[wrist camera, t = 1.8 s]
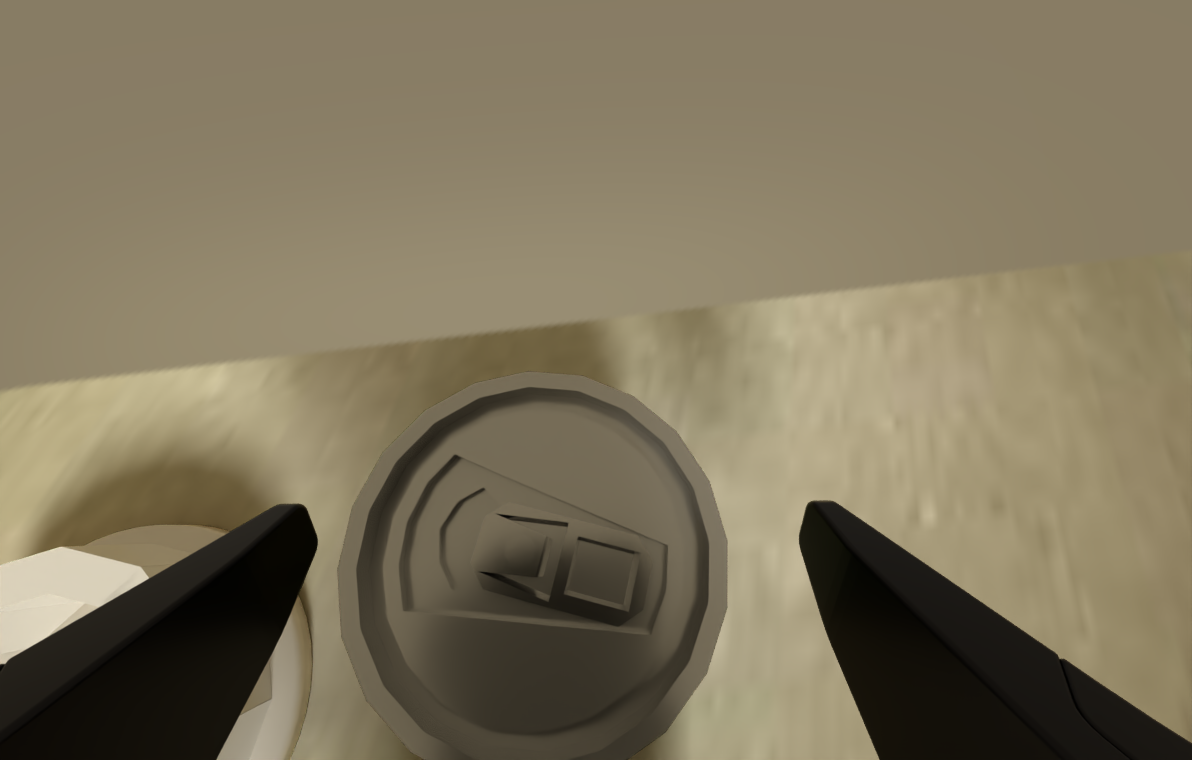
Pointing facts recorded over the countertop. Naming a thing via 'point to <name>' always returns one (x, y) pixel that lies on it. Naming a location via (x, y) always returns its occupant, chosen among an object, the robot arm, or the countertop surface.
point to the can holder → (122, 561)
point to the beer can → (533, 574)
